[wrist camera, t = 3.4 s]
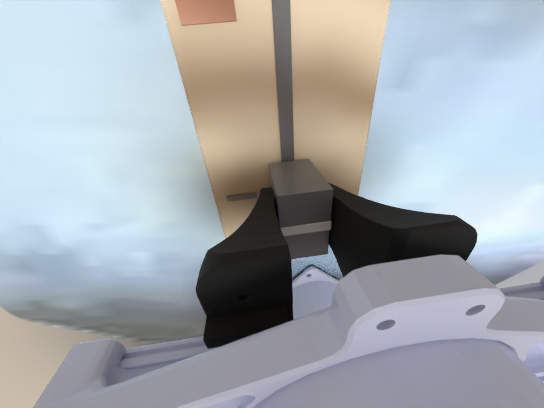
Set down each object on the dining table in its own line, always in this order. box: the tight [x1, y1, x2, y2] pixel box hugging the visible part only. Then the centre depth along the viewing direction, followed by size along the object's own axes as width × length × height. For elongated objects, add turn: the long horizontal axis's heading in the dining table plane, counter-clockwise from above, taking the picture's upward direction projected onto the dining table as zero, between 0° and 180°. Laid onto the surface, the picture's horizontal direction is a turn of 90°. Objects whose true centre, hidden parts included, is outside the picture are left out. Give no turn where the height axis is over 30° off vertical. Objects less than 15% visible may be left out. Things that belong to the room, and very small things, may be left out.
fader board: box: [161, 0, 390, 238], centre depth 11 cm, size 20×10×2 cm, turn 5°
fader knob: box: [268, 159, 333, 259], centre depth 11 cm, size 4×2×4 cm, turn 5°
